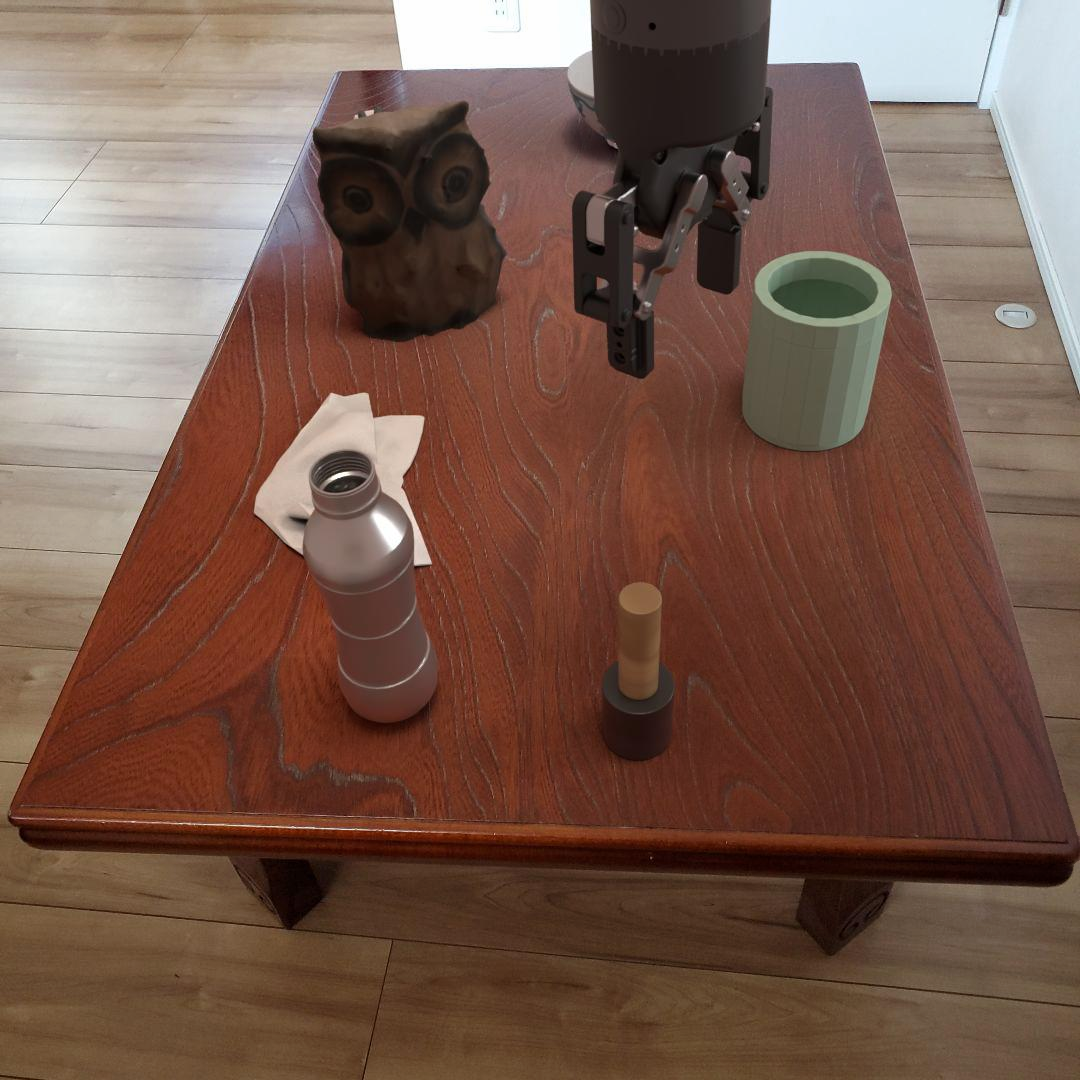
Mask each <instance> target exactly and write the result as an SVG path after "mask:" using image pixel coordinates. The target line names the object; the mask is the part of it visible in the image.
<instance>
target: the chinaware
mask: <svg viewBox="0 0 1080 1080" xmlns="http://www.w3.org/2000/svg"><path fill="white" fill-rule="evenodd" d="M566 79H567V80H566V81H567V84H568V89H569V92H570V95H571V98H572V101H573V104H574V106H575V107H576V110H577V111H578V113H579V114H580V116H581V117H582V119H583V120H584V122H585V123H586V124H587V125H588V126H589V127H590V128H591V129H592V130H594V131H595V132H596V133H597V134H599V135H600V136H602V137H604V138H605V139H606V138H607V139H608V140H610V141H611V142H613V143H615V141H614V140H613V138H612V137H611V135H610V134H609V133H608V132H607V130H606V129H605V128H604V127H603V126H602V125H601V123H600V122H599V120H598V118H597V116H596V113H595V106H594V84H593V62H592V49H591V50H588V51H587V52H585V53H582V54H581V55H580V56H578V57H577V58H575V59H574V60H573V61H572V62H571V63H570V64H569V66H568V68H567V70H566Z"/></svg>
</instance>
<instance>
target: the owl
mask: <svg viewBox="0 0 1080 1080" xmlns="http://www.w3.org/2000/svg"><path fill="white" fill-rule="evenodd" d="M469 110H470V103H469V102H468V101H466V100H460V101H453V102H452V101H451V102H446V103H445V102H444V103H441V104H433V105H418V106H410V107H403V108H400V109H397V110H395V111H382V112H379V113H375V114H372V115H369V116H365V117H361V118H357V119H354V118H353V119H354V120H353V119H350V120H349V121H346V122H343V123H339V124H336V125H331V126H329V127H322V126H318V125H316V126H314V128H313V130H312V141H313V144H314V147H315V149H316V151H317V153H318V157H319V159H320V170H319V173H318V175H317V176H318V177H317V182H316V183H317V185H316V187H317V189H318V192H319V200H320V202H321V204H322V205H323V210H322V215H323V217H324V219H325V221H326V222H327V224H328V226H329V228H330V230H331V232H332V234H333V235H334V237H335V238H336V239H337V241H338V243H339V246H340V248H341V251H342V252H341V253H342V255H341V256H342V257H341V281H342V291H343V297H344V300H345V302H346V304H347V305H348V306H349V307H350V308H352V309H354V310H356V311H357V312H358V314H359V316H360V317H361V321H362V322H361V323H362V332H363V334H364V335H365V336H366V337H369V338H377V339H379V340H387V341H393V342H407V341H410V340H412V339H414V338H415V337H418V336H421V335H422V334H426V335H428V336H430V337H431V336H434V335H437V334H438V333H440V332H442V331H445V330H450V329H452V328H453V329H456V330H461V329H463V328H465V327H466V326H467V325H469V324H471V323H473V322H475V321H476V320H478V317H480V315H481V314H483V312H485V311H486V310H487V309H489V308H490V307H491V306H493V305H495V304H497V298H496V292H497V288H498V285H499V281H500V277H501V271H502V267H503V266H502V265H503V262H504V259H505V258H506V256H507V254H508V253H507V250H506V249H505V247H504V245H503V243H502V241H501V238H500V236H499V235H498V233H497V229H496V228H495V227H494V225H493V222H492V220H491V219H490V218H489V215H488V214H487V213H486V210H485V205H484V204H482V201H483V198H484V197H485V195H486V194H487V191H488V190H489V187H490V186H491V184H492V183H491V180H490V174H491V171H490V165H489V163H488V160H487V159H488V158H487V157H486V154H485V148H483V147H482V146H481V145H480V144H479V142H478V141H477V138H476V137H475V136H474V134H473V132H472V131H471V129H470V128H469V125H468V123H467V115H468V113H469Z"/></svg>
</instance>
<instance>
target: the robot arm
mask: <svg viewBox="0 0 1080 1080" xmlns="http://www.w3.org/2000/svg"><path fill="white" fill-rule="evenodd" d="M589 9H590V37H591V50H592V62H593V84H594V106H595V113H596V116H597V118H598V120H599V122H600V123H601V125H602V126H603V127H604V128H605V129H606V130H607V132H608V133H609V134H610V135H611V137H612V138H613V140H614V141H615V143H616V145H617V147H618V150H617V160H616V165H615V170H614V175H613V180H612V185H611V186H610V187H609V188H607V189H606V190H605V191H603V192H602V193H600V194H597V193H594V192H590V191H587V190H583V189H581V190H580V191H578V192H577V193H576V195H575V196H574V198H573V201H572V205H571V224H572V225H571V227H572V228H571V230H572V232H571V233H572V266H573V267H572V268H573V269H572V270H573V272H572V273H573V274H572V275H573V301H574V302H573V306H574V308H573V309H574V311H575V313H576V314H578V315H581V316H583V317H584V316H585V317H586V318H590V319H593V320H595V321H598V322H602V323H604V324H606V342H607V343H606V344H607V345H606V346H607V347H606V348H607V361H608V363H609V366H610V367H612V368H613V369H614V370H615V371H617V372H620V373H622V374H626V375H628V376H631V377H634V378H635V379H639V380H645V379H646V378H647V377H648V375H649V374H650V373H652V372H653V371H654V370H655V311H653V309H654V306H655V303H656V300H657V296H658V294H659V290H660V287H661V284H662V281H663V278H664V276H665V275H667V274H670V273H672V272H674V271H675V270H676V268H677V266H678V263H679V260H680V257H681V254H682V251H683V248H684V245H685V243H686V242H685V241H686V240H687V239H686V238H687V236H689V233H690V232H691V231H692V229H693V228H694V227H695V225H696V224H697V223H698V224H697V245H696V247H697V249H696V252H697V253H696V254H697V255H696V282H697V284H698V285H699V286H700V287H701V288H703V289H706V290H709V291H712V292H715V293H719V294H722V295H725V296H727V295H730V294H731V293H733V292H734V290H736V289H737V287H739V284H740V273H741V270H740V269H741V255H742V253H741V252H742V235H743V229H742V228H744V227H746V226H747V225H748V223H749V222H750V218H751V216H752V211H753V210H752V209H753V208H752V201H753V200H757V201H763V200H764V199H765V197H766V196H767V194H768V191H769V187H770V170H771V151H772V150H771V146H772V123H773V102H774V91H773V89H772V87H769V86H767V76H768V75H767V73H768V62H769V61H768V60H769V48H770V47H769V45H770V30H771V16H772V0H589ZM738 156H739V157H743V158H746V159H747V160H749V163H750V172H748V171H744V170H741V169H740V168H739V166H738V164H739V162H740V161H739V158H738ZM639 232H640V233H641V234H643V235H644V236H648V237H651V238H655V239H658V240H662V241H661V243H660V245H659V246H658V247H657V248H654V249H648V248H644V247H642V246H638V245H635V244H634V242H635V238H636V237H637V236H638V235H639ZM634 263H636V264H638V265H640V266H642V274H641V277H640V280H639V283H638V286H637V289H634ZM598 279H601V280H600V284H599V287H598Z"/></svg>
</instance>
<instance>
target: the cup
mask: <svg viewBox="0 0 1080 1080" xmlns="http://www.w3.org/2000/svg"><path fill="white" fill-rule="evenodd" d="M753 280H754V281H753V290H752V301H751V308H750V318H749V329H748V339H747V340H748V341H747V347H746V348H747V349H746V359H745V366H744V378H743V387H742V396H741V401H742V402H741V413H742V416H743V420H744V421H745V423H746V426H748V427H749V429H750V430H751V431H752V432H753V433H754V434H755V435H757V436H758V437H759V438H760V439H762V440H764V441H766V442H768V443H770V444H772V445H774V446H778V447H780V448H783V449H787V450H793V451H799V452H820V451H821V452H822V451H826V450H832V449H835V448H839V447H840V446H843V445H845V444H847V443H849V442H850V441H852V440H853V439H855V438H856V437H857V435H859V434H860V432H861V431H862V429H863V428H864V425H865V423H866V418H867V415H868V412H869V407H870V404H871V403H870V402H871V398H872V392H873V388H874V384H875V377H876V374H877V368H878V364H879V360H880V359H879V358H880V354H881V350H882V345H883V340H884V335H885V331H886V325H887V322H888V321H887V320H888V315H889V311H890V306H891V301H892V297H893V296H892V295H893V293H892V288H891V283H890V280H889V279H888V278H887V277H886V275H885V274H884V273H883V272H882V271H881V270H880V269H879V268H877V267H875V266H874V265H873V264H871V263H869V262H868V261H866V260H863V259H860V258H858V257H855V256H852V255H849V254H847V253H841V252H836V251H830V250H808V251H807V250H804V251H799V252H791V253H788V254H785V255H782V256H780V257H776V258H774V259H772V260H771V261H769V262H768V263H766V265H764V266H763V267H762V268H760V269H759V271H758V273H757V274H756V276H755V278H754V279H753Z"/></svg>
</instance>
